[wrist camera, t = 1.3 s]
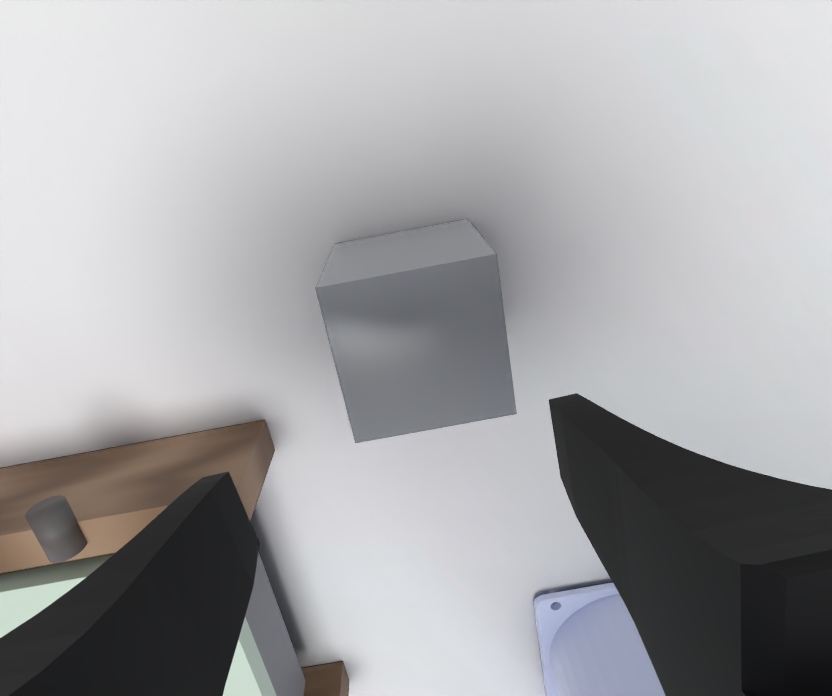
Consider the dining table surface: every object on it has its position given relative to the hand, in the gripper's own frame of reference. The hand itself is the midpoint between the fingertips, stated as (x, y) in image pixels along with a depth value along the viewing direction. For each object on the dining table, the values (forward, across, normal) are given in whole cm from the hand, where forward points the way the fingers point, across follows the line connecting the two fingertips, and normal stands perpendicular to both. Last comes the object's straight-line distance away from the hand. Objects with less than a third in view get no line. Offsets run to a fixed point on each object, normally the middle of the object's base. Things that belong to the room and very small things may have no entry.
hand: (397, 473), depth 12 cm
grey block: (+10, -1, -1) cm, 11 cm away
